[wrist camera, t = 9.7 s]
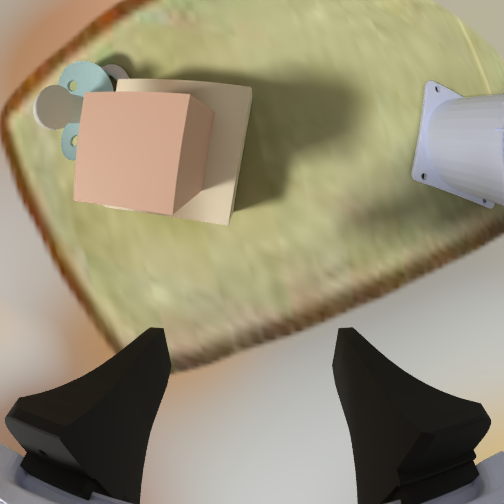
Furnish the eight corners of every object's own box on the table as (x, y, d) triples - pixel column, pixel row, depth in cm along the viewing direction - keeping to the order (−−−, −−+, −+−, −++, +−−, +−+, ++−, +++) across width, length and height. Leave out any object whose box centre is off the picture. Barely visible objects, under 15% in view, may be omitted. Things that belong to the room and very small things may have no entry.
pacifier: (135, 54, 17) (69, 75, 17) (98, 28, 11) (20, 63, 11) (140, 147, 19) (73, 162, 19) (100, 151, 13) (23, 172, 13)
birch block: (252, 97, 18) (251, 87, 14) (233, 212, 20) (228, 225, 17) (139, 87, 17) (118, 79, 14) (125, 196, 20) (103, 206, 17)
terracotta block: (214, 111, 15) (190, 94, 9) (201, 190, 16) (172, 215, 11) (139, 106, 15) (84, 92, 9) (129, 180, 16) (73, 200, 11)
